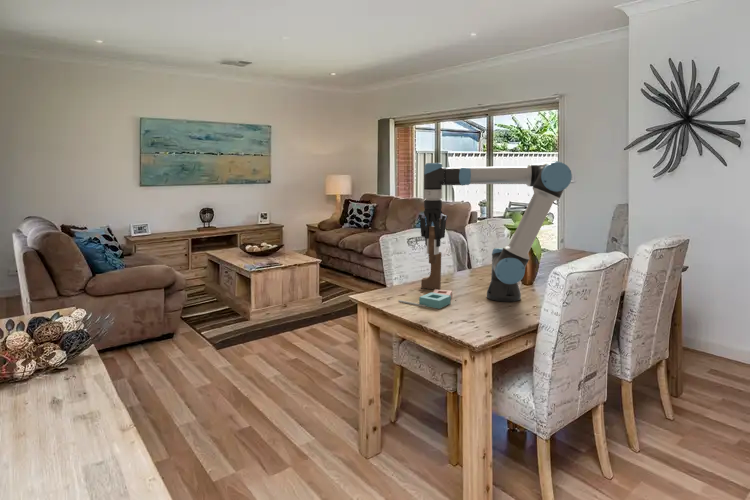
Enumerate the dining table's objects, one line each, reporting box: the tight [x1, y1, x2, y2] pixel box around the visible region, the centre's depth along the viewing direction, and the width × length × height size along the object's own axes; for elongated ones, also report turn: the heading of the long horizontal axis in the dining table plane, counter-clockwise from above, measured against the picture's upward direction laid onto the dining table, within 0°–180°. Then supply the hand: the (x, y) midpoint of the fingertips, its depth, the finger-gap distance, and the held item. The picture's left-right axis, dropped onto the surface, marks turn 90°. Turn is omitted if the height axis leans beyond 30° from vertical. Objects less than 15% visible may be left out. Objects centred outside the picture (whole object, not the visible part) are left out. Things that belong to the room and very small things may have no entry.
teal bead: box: [418, 292, 452, 309], centre depth 216 cm, size 10×10×4 cm
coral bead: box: [432, 289, 453, 299], centre depth 225 cm, size 8×8×3 cm
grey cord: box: [398, 299, 427, 308], centre depth 216 cm, size 14×1×1 cm, turn 54°
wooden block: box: [420, 251, 442, 290], centre depth 243 cm, size 9×4×18 cm, turn 74°
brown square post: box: [428, 225, 436, 265], centre depth 213 cm, size 3×3×16 cm
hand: (432, 253), depth 214 cm, fingers closed on brown square post, 3 cm apart
